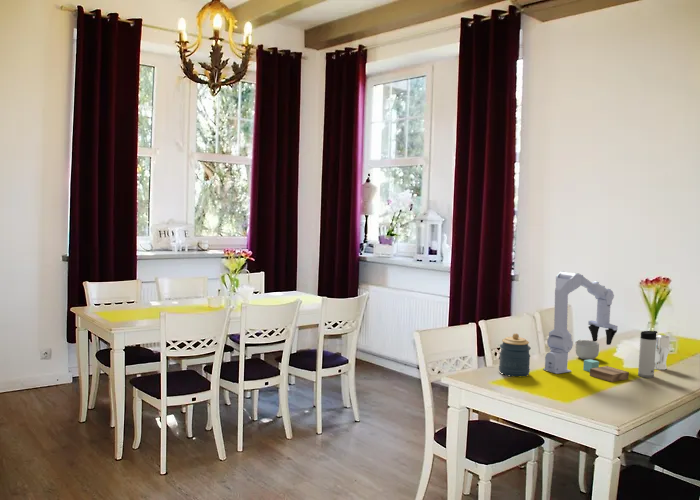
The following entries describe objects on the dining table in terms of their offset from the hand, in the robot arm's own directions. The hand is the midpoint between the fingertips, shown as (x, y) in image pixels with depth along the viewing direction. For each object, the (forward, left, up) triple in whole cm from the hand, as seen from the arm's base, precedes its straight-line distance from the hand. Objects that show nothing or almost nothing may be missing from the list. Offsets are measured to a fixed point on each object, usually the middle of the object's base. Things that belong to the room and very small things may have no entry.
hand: (601, 342), depth 297 cm
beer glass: (+19, -17, -10) cm, 27 cm away
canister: (-50, +5, -10) cm, 51 cm away
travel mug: (+1, -23, -10) cm, 25 cm away
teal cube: (-14, -6, -10) cm, 18 cm away
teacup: (+4, +12, -10) cm, 16 cm away
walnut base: (-16, -17, -10) cm, 25 cm away
